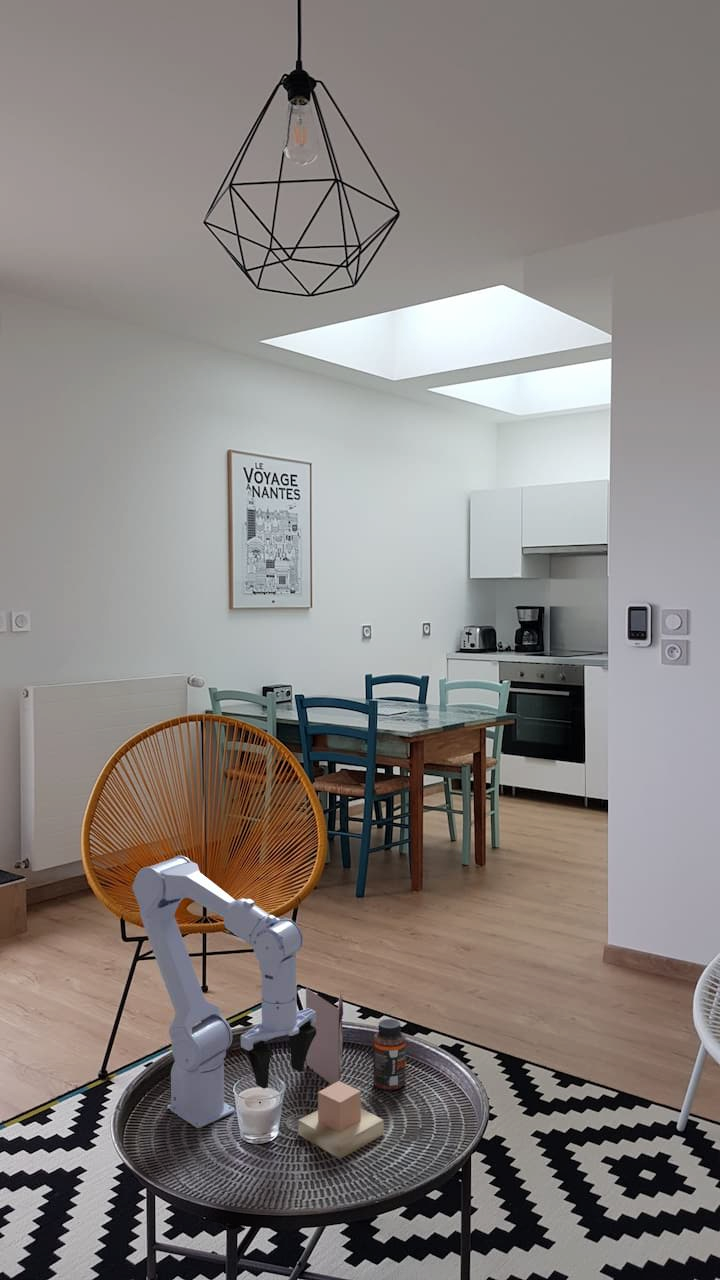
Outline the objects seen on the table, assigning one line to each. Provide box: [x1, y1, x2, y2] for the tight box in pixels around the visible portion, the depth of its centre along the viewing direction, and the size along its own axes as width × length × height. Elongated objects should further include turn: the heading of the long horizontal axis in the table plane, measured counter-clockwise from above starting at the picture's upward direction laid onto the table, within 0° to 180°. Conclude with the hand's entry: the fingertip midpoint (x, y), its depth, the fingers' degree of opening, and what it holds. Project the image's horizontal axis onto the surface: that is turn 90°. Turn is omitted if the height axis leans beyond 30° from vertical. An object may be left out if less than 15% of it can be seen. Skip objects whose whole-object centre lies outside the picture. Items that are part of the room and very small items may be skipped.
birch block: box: [297, 1107, 385, 1160], centre depth 166 cm, size 10×10×3 cm
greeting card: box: [305, 986, 344, 1085], centre depth 186 cm, size 11×7×15 cm, turn 178°
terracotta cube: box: [317, 1081, 362, 1132], centre depth 166 cm, size 5×5×5 cm
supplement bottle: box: [372, 1018, 407, 1091], centre depth 183 cm, size 6×6×11 cm
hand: (280, 1077), depth 164 cm, fingers open, 7 cm apart
